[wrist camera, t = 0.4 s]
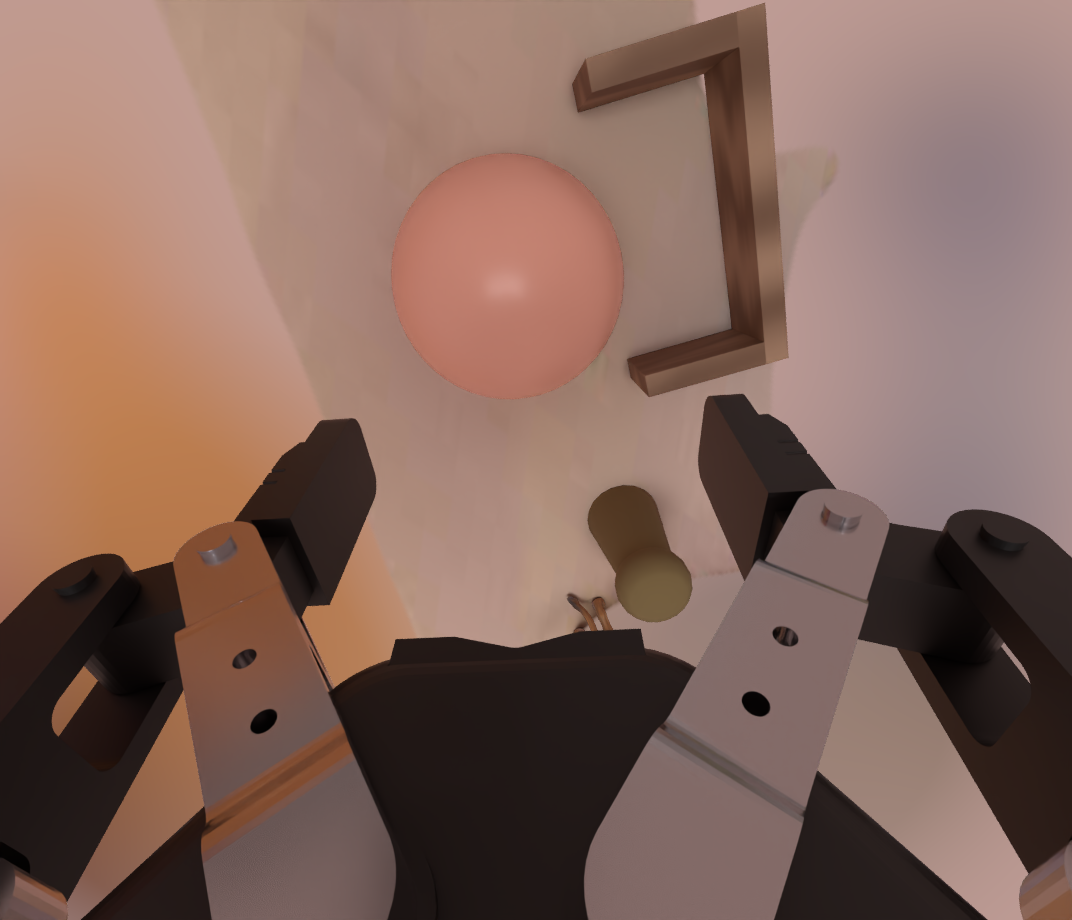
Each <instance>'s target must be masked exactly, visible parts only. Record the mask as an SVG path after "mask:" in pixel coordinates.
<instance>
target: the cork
mask: <svg viewBox="0 0 1072 920" xmlns="http://www.w3.org/2000/svg"><path fill="white" fill-rule="evenodd" d="M588 525H589V529H590V531H591V533H592V535H593V536H594V538H595V539H596V541H597V543H598V544H599V546H600V548H601V549H602V551H603V553H604V554H605V556H606V558H607V559H608V561H609V563H610V564H611V566H612V568H613V569H614V571H615V573H616V578H615V588H616V593H617V597H618V600H619V601H620V603H621V604H622V606H623V607H624V609H625V610H626V611H627V612H628V613H629V614H631V615H632V616H633V617H635V618H637V619H640V620H643V621H646V622H661V621H665V620H668V619H670V618H672V617H674V616H676V615H677V614H679V613H680V612H681V611H682V610H683V609H684V608H685V606H686V605H687V603H688V602H689V599H690V596H691V592H692V580H691V574H690V572H689V570H688V569H687V567H686V565H685V564H684V562H683V560H681V559H680V558H679V557H678V556H676V555H675V554H674V553H673V552H671V550H670V547H669V544H668V541H667V537H666V534H665V531H664V528H663V524H662V521H661V518H660V515H659V512H658V508H657V505H656V503H655V501H654V500H653V498H652V496H651V495H650V494H648V493H647V492H646V491H645V490H643V489H641V488H638V487H635V486H618V487H614V488H611V489H609V490H607V491H605V492H604V493H602V494H601V495H600V496H599V497H598V498H597V499H596V500H595V501H594V502H593V504H592V506H591V508H590V510H589V514H588Z"/></svg>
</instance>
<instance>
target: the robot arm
mask: <svg viewBox="0 0 1072 920" xmlns="http://www.w3.org/2000/svg"><path fill="white" fill-rule="evenodd" d="M698 465H699V473H700V478H701V481H702V483H703V486H704V488H705V490H706V493H707V495H708V497H709V500H710V502H711V504H712V507H713V509H714V511H715V514H716V516H717V518H718V521H719V523H720V525H721V528H722V530H723V532H724V535H725V537H726V539H727V542H728V544H729V546H730V549H731V551H732V553H733V556H734V558H735V560H736V563H737V565H738V567H739V570H740V572H741V574H742V576H743V579H744V581H745V582H744V583H743V585H742V587H741V589H740V591H739V592H738V594H737V596H736V598H735V599H734V601H733V603H732V605H731V607H730V608H729V610H728V612H727V614H726V616H725V617H724V619H723V621H722V623H721V625H720V626H719V628H718V630H717V632H716V633H715V635H714V637H713V639H712V640H711V642H710V644H709V646H708V648H707V649H706V651H705V653H704V655H703V657H702V658H701V660H700V662H699V664H698V665H697V667H694V666H692V665H690V664H689V663H687V662H685V661H683V660H680V659H678V658H676V657H673V656H671V655H668V654H665V653H662V652H659V651H655V650H651V649H645V648H644V644H643V639H642V633H641V629H625V630H602V631H579V632H576V633H572V634H568V635H565V636H561V637H557V638H553V639H550V640H546V641H542V642H539V643H535V644H531V645H528V646H524V647H519V648H510V647H505V646H500V645H495V644H489V643H484V642H479V641H474V640H469V639H464V638H458V637H438V638H415V639H396V640H395V644H394V648H393V651H392V656H391V659H390V660H387V661H384V662H381V663H378V664H376V665H373V666H371V667H369V668H366V669H364V670H363V671H361V672H359V673H356V674H355V675H353V676H351V677H350V678H348V679H347V680H345V681H343V682H342V683H340V684H339V685H338V686H336V687H334V685H333V683H332V681H331V678H330V676H329V674H328V672H327V670H326V667H325V665H324V663H323V661H322V659H321V657H320V654H319V652H318V650H317V648H316V646H315V644H314V641H313V639H312V637H311V635H310V633H309V631H308V629H307V626H306V624H305V622H304V620H303V618H302V615H303V613H304V611H305V609H306V607H307V606H319V605H330V602H331V600H332V598H333V596H334V593H335V591H336V588H337V586H338V584H339V581H340V579H341V577H342V574H343V572H344V569H345V567H346V565H347V562H348V560H349V558H350V555H351V553H352V551H353V548H354V545H355V543H356V541H357V539H358V536H359V534H360V532H361V529H362V527H363V524H364V522H365V520H366V517H367V515H368V513H369V510H370V508H371V506H372V503H373V501H374V498H375V494H376V477H375V472H374V469H373V466H372V462H371V459H370V456H369V453H368V450H367V446H366V443H365V440H364V437H363V434H362V431H361V428H360V425H359V423H358V422H357V420H356V419H353V418H350V419H334V420H322V421H320V422H319V423H318V424H317V426H316V427H315V428H314V430H313V431H312V433H311V434H310V435H309V437H308V438H307V440H306V441H305V442H301V443H299V444H297V445H296V446H295V447H293V448H292V449H291V450H289V451H288V452H286V453H285V454H284V455H282V457H281V458H280V459H279V461H278V462H277V463H276V465H275V466H274V467H273V469H272V473H269V474H268V475H267V477H266V478H265V480H264V481H263V485H260V486H259V488H258V489H257V490H256V492H255V493H254V495H253V496H252V497H251V499H250V500H249V501H248V503H247V504H246V505H245V507H244V508H243V510H242V511H241V512H240V513H239V515H238V516H237V517H236V519H235V521H234V522H227V523H223V524H219V525H216V526H213V527H211V528H208V529H206V530H204V531H202V532H200V533H198V534H197V535H195V536H194V537H192V538H191V539H190V540H188V541H187V542H186V543H185V544H184V545H183V546H182V547H181V548H180V549H179V550H178V552H177V553H176V556H175V557H174V561H173V562H169V563H166V564H162V565H159V566H154V567H151V568H147V569H143V570H139V571H136V572H132V570H131V569H130V568H129V566H128V565H127V564H126V562H125V561H124V560H123V558H122V557H120V556H118V555H116V554H100V555H94V556H90V557H87V558H83V559H80V560H78V561H76V562H73V563H71V564H69V565H67V566H65V567H63V568H61V569H60V570H58V571H56V572H55V573H53V574H52V575H50V576H49V577H47V578H46V579H45V580H44V581H42V582H41V583H40V584H39V585H38V586H37V587H36V588H35V589H34V590H33V591H32V592H31V593H30V594H29V595H28V596H27V597H26V598H25V599H24V600H23V601H22V602H21V603H20V604H19V605H18V607H16V608H15V609H14V610H13V611H12V613H10V614H9V616H8V617H7V618H6V619H5V620H4V621H3V622H2V623H1V624H0V920H67V918H68V905H67V901H68V899H69V898H70V896H71V894H72V892H73V890H74V888H75V887H76V885H77V883H78V881H79V879H80V877H81V876H82V874H83V872H84V870H85V868H86V866H87V865H88V863H89V861H90V859H91V857H92V856H93V854H94V852H95V850H96V848H97V846H98V845H99V843H100V841H101V839H102V837H103V836H104V834H105V832H106V830H107V828H108V826H109V825H110V823H111V821H112V819H113V817H114V815H115V814H116V812H117V810H118V808H119V806H120V805H121V803H122V801H123V799H124V797H125V795H126V794H127V792H128V790H129V788H130V786H131V785H132V782H133V781H134V779H135V777H136V775H137V774H138V772H139V770H140V768H141V766H142V764H143V763H144V761H145V759H146V757H147V755H148V754H149V752H150V750H151V748H152V746H153V745H154V743H155V741H156V739H157V737H158V735H159V734H160V732H161V730H162V728H163V726H164V724H165V723H166V721H167V719H168V717H169V715H170V713H171V712H172V710H173V708H174V706H175V704H176V703H177V701H178V699H179V697H180V695H181V694H182V692H183V690H184V695H185V700H186V706H187V712H188V717H189V723H190V728H191V734H192V739H193V745H194V751H195V756H196V762H197V767H198V773H199V778H200V783H201V789H202V795H203V801H204V807H203V808H202V809H201V810H200V811H199V812H198V813H196V814H195V815H194V816H193V817H192V818H191V819H190V820H189V821H188V822H187V823H186V824H185V825H183V827H181V828H180V829H179V830H178V831H177V832H176V833H175V834H174V835H173V836H171V837H170V838H169V839H168V840H167V841H166V842H165V843H164V844H163V845H162V846H161V847H159V848H158V849H157V850H156V851H155V852H154V853H153V854H152V855H151V856H150V857H149V858H148V859H146V860H145V861H144V862H143V863H142V864H141V865H140V866H139V867H138V868H137V869H136V870H134V871H133V872H132V873H131V874H130V875H129V876H128V877H127V878H126V879H125V880H124V881H123V882H121V883H120V884H119V885H118V886H117V887H116V888H115V889H114V890H113V891H112V892H111V893H110V894H108V895H107V896H106V897H105V898H104V899H103V900H102V901H101V902H100V903H99V904H98V905H97V906H95V907H94V908H93V909H92V910H91V911H90V912H89V913H88V914H87V915H86V916H84V917H83V918H82V919H81V920H987V919H986V918H985V917H984V916H983V915H981V914H980V913H979V912H978V911H977V910H976V909H975V908H974V907H972V906H971V905H970V904H969V903H968V902H967V901H965V900H964V899H963V898H962V897H961V896H960V895H959V894H958V893H956V892H955V891H954V890H953V889H952V888H951V887H950V886H948V885H947V884H946V883H945V882H944V881H943V880H942V879H940V878H939V877H938V876H937V875H936V874H935V873H934V872H932V871H931V870H930V869H929V868H928V867H927V866H926V865H925V864H923V863H922V862H921V861H920V860H919V859H917V858H916V857H915V856H914V855H913V854H912V853H911V852H910V851H908V850H907V849H906V848H905V847H904V846H903V845H902V844H901V843H899V842H898V841H897V840H896V839H895V838H894V837H893V836H891V835H890V834H889V833H888V832H887V831H886V830H885V829H883V828H882V827H881V826H880V825H879V824H878V823H877V822H876V821H874V820H873V819H872V818H871V817H870V816H869V815H868V814H866V813H865V812H864V811H863V810H862V809H861V808H860V807H858V806H857V805H856V804H855V803H854V802H853V801H852V800H850V799H849V798H848V797H847V796H846V795H845V794H843V793H842V792H841V791H840V790H839V789H838V788H837V787H836V786H834V785H833V784H832V783H831V782H830V781H829V780H828V779H826V778H825V777H824V776H823V775H822V774H821V773H820V772H819V771H817V769H818V766H819V762H820V759H821V756H822V753H823V750H824V746H825V743H826V740H827V737H828V733H829V730H830V727H831V724H832V720H833V717H834V714H835V711H836V707H837V704H838V701H839V698H840V694H841V691H842V688H843V685H844V681H845V678H846V675H847V672H848V669H849V665H850V662H851V659H852V656H853V653H854V649H855V646H856V643H857V640H858V639H860V640H865V641H869V642H873V643H878V644H882V645H887V646H892V647H896V648H897V649H898V651H899V652H900V654H901V656H902V657H903V659H904V661H905V663H906V664H907V666H908V668H909V669H910V671H911V673H912V675H913V676H914V678H915V680H916V682H917V683H918V685H919V687H920V688H921V690H922V692H923V694H924V695H925V697H926V698H927V700H928V702H929V704H930V706H931V707H932V709H933V711H934V712H935V714H936V716H937V718H938V719H939V721H940V722H941V724H942V726H943V728H944V729H945V731H946V733H947V735H948V736H949V738H950V740H951V741H952V743H953V745H954V746H955V748H956V750H957V751H958V753H959V755H960V757H961V758H962V760H963V762H964V764H965V765H966V767H967V769H968V771H969V772H970V774H971V776H972V777H973V779H974V781H975V782H976V784H977V786H978V788H979V789H980V791H981V793H982V795H983V796H984V798H985V800H986V801H987V803H988V805H989V807H990V808H991V810H992V812H993V813H994V815H995V817H996V819H997V820H998V822H999V824H1000V825H1001V827H1002V829H1003V831H1004V832H1005V834H1006V836H1007V837H1008V839H1009V841H1010V843H1011V844H1012V846H1013V848H1014V849H1015V851H1016V853H1017V854H1018V856H1019V858H1020V860H1021V861H1022V863H1023V865H1024V866H1025V868H1026V870H1027V872H1028V873H1029V874H1028V875H1027V876H1026V878H1025V879H1024V880H1023V882H1022V885H1021V887H1020V894H1019V902H1020V910H1021V914H1022V917H1023V920H1072V558H1071V557H1070V556H1069V555H1068V554H1067V553H1066V552H1065V551H1064V550H1063V549H1062V548H1060V547H1059V546H1058V545H1057V544H1056V543H1055V542H1054V541H1053V540H1052V539H1051V538H1050V537H1049V536H1047V535H1046V534H1045V533H1044V532H1042V531H1041V530H1039V529H1038V528H1036V527H1034V526H1032V525H1030V524H1029V523H1026V522H1024V521H1022V520H1020V519H1017V518H1014V517H1012V516H1009V515H1005V514H1002V513H998V512H993V511H987V510H964V511H959V512H957V513H955V514H953V515H952V516H950V518H949V519H948V521H947V523H946V525H945V527H944V529H943V531H936V530H929V529H923V528H916V527H909V526H903V525H897V524H892V523H889V521H888V518H887V516H886V514H885V513H884V512H883V511H882V510H881V509H880V508H879V507H878V506H877V505H875V504H874V503H873V502H871V501H869V500H868V499H866V498H864V497H861V496H859V495H857V494H854V493H851V492H847V491H842V490H837V489H836V488H835V487H834V485H833V484H832V483H831V481H830V480H829V479H828V478H827V477H826V475H825V474H824V472H823V471H822V470H821V468H820V467H819V466H818V465H817V463H816V462H815V461H814V460H813V458H812V457H811V456H810V454H807V450H806V449H805V448H804V446H803V445H802V444H801V443H800V442H798V439H797V438H796V436H795V435H794V434H793V432H792V431H791V430H790V428H789V427H788V426H787V425H786V424H784V423H782V422H780V421H779V420H777V419H776V418H774V417H772V416H771V415H769V414H762V415H758V413H757V412H756V410H755V409H754V408H753V406H752V405H751V403H750V402H749V401H748V399H747V398H746V396H745V395H743V394H734V395H718V396H708V397H707V399H706V401H705V406H704V413H703V422H702V430H701V438H700V446H699V455H698ZM1003 643H1005V644H1006V645H1007V647H1008V648H1009V649H1010V650H1011V651H1012V653H1013V654H1014V655H1015V657H1016V658H1017V659H1018V660H1019V662H1020V663H1021V664H1022V666H1023V667H1024V669H1025V671H1026V673H1027V675H1028V677H1029V680H1030V683H1029V682H1028V681H1027V679H1026V678H1025V677H1024V676H1023V674H1022V673H1021V672H1020V670H1019V669H1018V668H1017V666H1016V665H1015V664H1014V663H1013V661H1012V660H1011V659H1010V657H1009V656H1008V655H1007V654H1006V652H1005V651H1004V650H1003V648H1002V647H1001V646H1002V644H1003ZM83 666H85V667H86V668H87V669H88V671H89V672H90V673H91V674H92V675H93V676H94V677H95V678H96V679H97V680H98V682H97V683H96V685H95V686H94V687H93V689H92V690H91V692H90V693H89V694H88V696H87V697H86V699H85V700H84V702H83V703H82V705H81V706H80V707H79V709H78V710H77V712H76V713H75V714H74V716H73V717H72V719H71V720H70V721H69V723H68V724H67V726H66V727H65V729H64V730H63V731H62V733H61V734H60V735H59V737H58V736H57V735H56V734H55V733H54V731H53V728H52V713H53V710H54V707H55V705H56V703H57V701H58V700H59V698H60V697H61V695H62V694H63V693H64V692H65V690H66V689H67V687H68V686H69V685H70V684H71V682H72V681H73V679H74V678H75V677H76V676H77V674H78V673H79V672H80V670H81V669H82V667H83Z"/></svg>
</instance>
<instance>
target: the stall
mask: <svg viewBox="0 0 1072 920" xmlns="http://www.w3.org/2000/svg"><path fill="white" fill-rule="evenodd" d="M766 25H767V24H766V9H765V3H763V4H760V5H756V6H753V7H750V8H747V9H744V10H740V11H737V12H734V13H731V14H728V15H724V16H721V17H718V18H715V19H712V20H708V21H706V22H702V23H699V24H696V25H692V26H689V27H686V28H683V29H680V30H676V31H673V32H670V33H667V34H663V35H660V36H657V37H654V38H651V39H647V40H644V41H641V42H638V43H635V44H631V45H628V46H625V47H622V48H619V49H615V50H612V51H609V52H606V53H603V54H599V55H596V56H593V57H590V58H587V59H585V61H584V63H583V65H582V67H581V69H580V71H579V72H578V74H577V76H576V78H575V80H574V82H573V84H572V85H573V90H574V95H575V100H576V105H577V110H578V112H581V111H585V110H588V109H591V108H594V107H597V106H601V105H604V104H607V103H610V102H614V101H617V100H620V99H623V98H627V97H630V96H633V95H636V94H640V93H643V92H646V91H649V90H653V89H656V88H659V87H662V86H666V85H669V84H672V83H675V82H679V81H682V80H685V79H688V78H692V77H695V76H698V75H701V74H704V78H705V87H706V96H707V106H708V115H709V124H710V133H711V142H712V151H713V160H714V169H715V178H716V187H717V196H718V205H719V214H720V224H721V233H722V242H723V251H724V260H725V269H726V278H727V287H728V296H729V305H730V314H731V323H732V329H730V330H727V331H723V332H720V333H716V334H713V335H709V336H706V337H703V338H699V339H696V340H692V341H689V342H685V343H682V344H678V345H675V346H671V347H668V348H664V349H661V350H657V351H654V352H650V353H647V354H643V355H640V356H636V357H633V358H629V359H627V360H628V365H629V370H630V375H631V378H632V380H633V381H634V382H635V383H636V384H637V385H638V386H639V387H640V388H641V389H642V390H643V391H644V392H645V393H646V394H647V395H648V397H652V396H655V395H659V394H662V393H666V392H669V391H673V390H676V389H680V388H683V387H687V386H690V385H694V384H697V383H701V382H705V381H708V380H712V379H715V378H719V377H722V376H726V375H729V374H733V373H736V372H740V371H743V370H747V369H751V368H754V367H758V366H761V365H765V364H768V363H772V362H775V361H779V360H782V359H786V358H788V342H787V327H786V312H785V297H784V281H783V266H782V251H781V236H780V221H779V206H778V191H777V176H776V161H775V147H774V130H773V115H772V100H771V85H770V70H769V55H768V41H767V26H766Z"/></svg>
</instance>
